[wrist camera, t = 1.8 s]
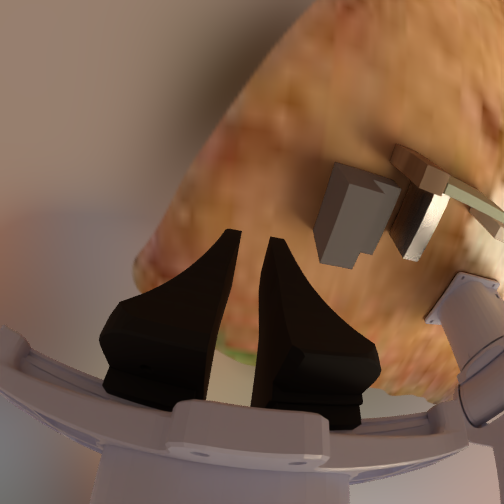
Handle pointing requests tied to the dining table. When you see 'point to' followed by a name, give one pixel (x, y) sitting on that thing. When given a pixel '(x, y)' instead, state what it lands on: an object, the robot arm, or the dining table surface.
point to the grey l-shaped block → (433, 214)
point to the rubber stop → (353, 215)
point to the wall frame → (437, 183)
